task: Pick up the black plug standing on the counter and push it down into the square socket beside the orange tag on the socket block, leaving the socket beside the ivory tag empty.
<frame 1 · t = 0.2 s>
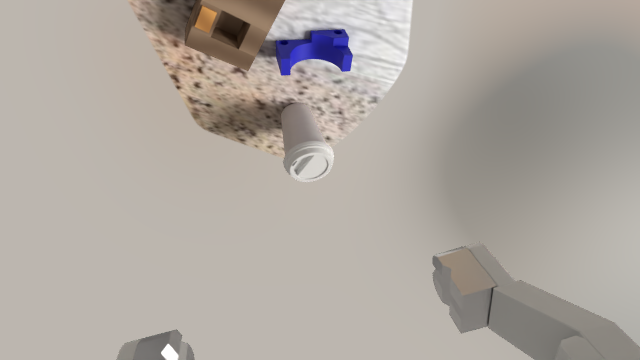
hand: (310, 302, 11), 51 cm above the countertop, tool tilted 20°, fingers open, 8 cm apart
coffee cup: (295, 114, 71), on the countertop
cable clip: (309, 42, 60), on the countertop
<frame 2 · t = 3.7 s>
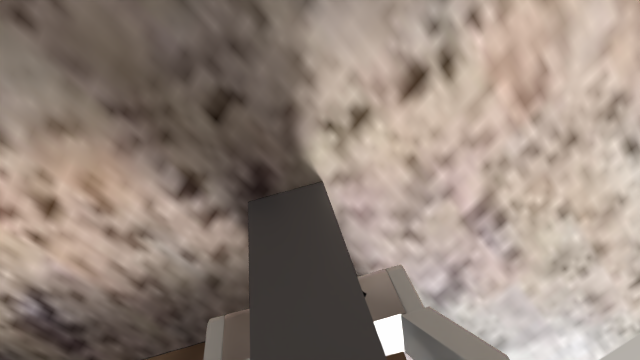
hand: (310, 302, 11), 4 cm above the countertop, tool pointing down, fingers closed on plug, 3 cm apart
plug: (294, 220, 14), on the countertop, touching gripper
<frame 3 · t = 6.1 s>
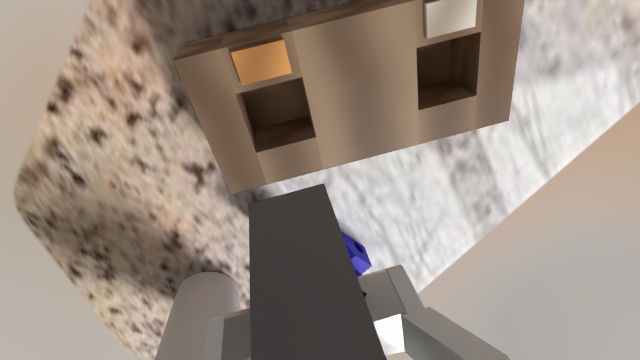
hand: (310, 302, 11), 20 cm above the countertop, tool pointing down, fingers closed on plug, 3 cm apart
plug: (295, 222, 14), point 16 cm above the countertop, touching gripper
coffee cup: (209, 290, 38), on the countertop
cable clip: (312, 233, 36), on the countertop
socket block: (346, 74, 27), on the countertop
when the fingers open (7 cm above the countertop, at t = 8.1 s): plug drops 2 cm, resting on socket block.
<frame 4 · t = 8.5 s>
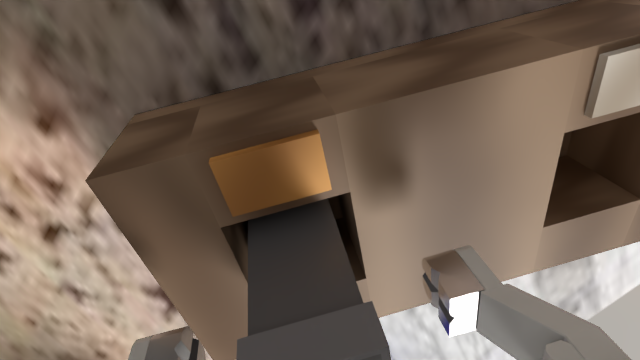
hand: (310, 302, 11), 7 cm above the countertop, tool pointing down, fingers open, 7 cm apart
plug: (289, 194, 16), point 1 cm above the countertop, touching socket block
socket block: (404, 150, 17), on the countertop
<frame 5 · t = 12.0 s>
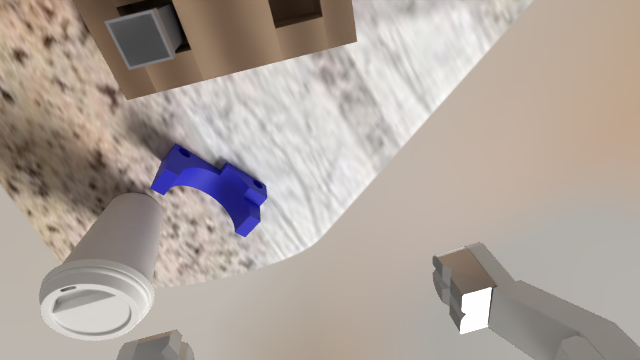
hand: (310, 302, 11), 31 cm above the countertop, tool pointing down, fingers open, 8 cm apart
plug: (165, 23, 32), point 1 cm above the countertop, touching socket block
coffee cup: (136, 212, 43), on the countertop
cable clip: (216, 172, 43), on the countertop
socket block: (227, 6, 33), on the countertop
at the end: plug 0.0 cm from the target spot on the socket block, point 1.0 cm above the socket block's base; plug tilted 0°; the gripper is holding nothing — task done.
